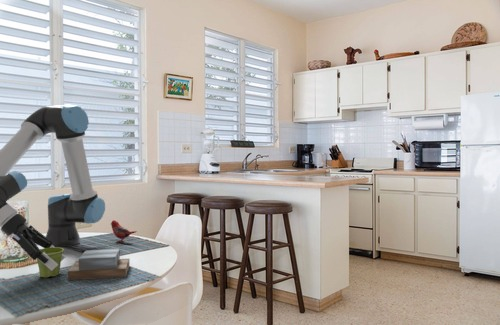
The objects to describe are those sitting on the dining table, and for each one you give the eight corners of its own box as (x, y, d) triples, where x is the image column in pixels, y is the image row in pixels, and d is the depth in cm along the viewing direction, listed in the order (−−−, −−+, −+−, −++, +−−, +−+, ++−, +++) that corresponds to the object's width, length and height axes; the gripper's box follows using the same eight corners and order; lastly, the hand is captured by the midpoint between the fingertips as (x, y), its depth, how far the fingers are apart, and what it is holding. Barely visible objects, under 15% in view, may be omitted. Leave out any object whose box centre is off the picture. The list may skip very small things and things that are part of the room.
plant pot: (53, 280, 138) (52, 254, 138) (28, 278, 140) (27, 253, 139) (69, 271, 147) (69, 248, 147) (46, 270, 149) (46, 246, 149)
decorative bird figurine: (113, 239, 200) (112, 219, 199) (139, 244, 191) (139, 222, 190) (108, 240, 197) (108, 220, 197) (134, 245, 188) (134, 223, 188)
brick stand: (76, 268, 151) (76, 250, 151) (129, 266, 155) (129, 248, 155) (67, 280, 139) (67, 259, 138) (125, 276, 142) (125, 257, 142)
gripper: (12, 222, 151) (59, 262, 154) (-14, 235, 129) (41, 281, 133) (28, 207, 152) (74, 248, 155) (4, 218, 130) (58, 264, 134)
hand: (59, 263), depth 144 cm, fingers closed on plant pot, 9 cm apart
